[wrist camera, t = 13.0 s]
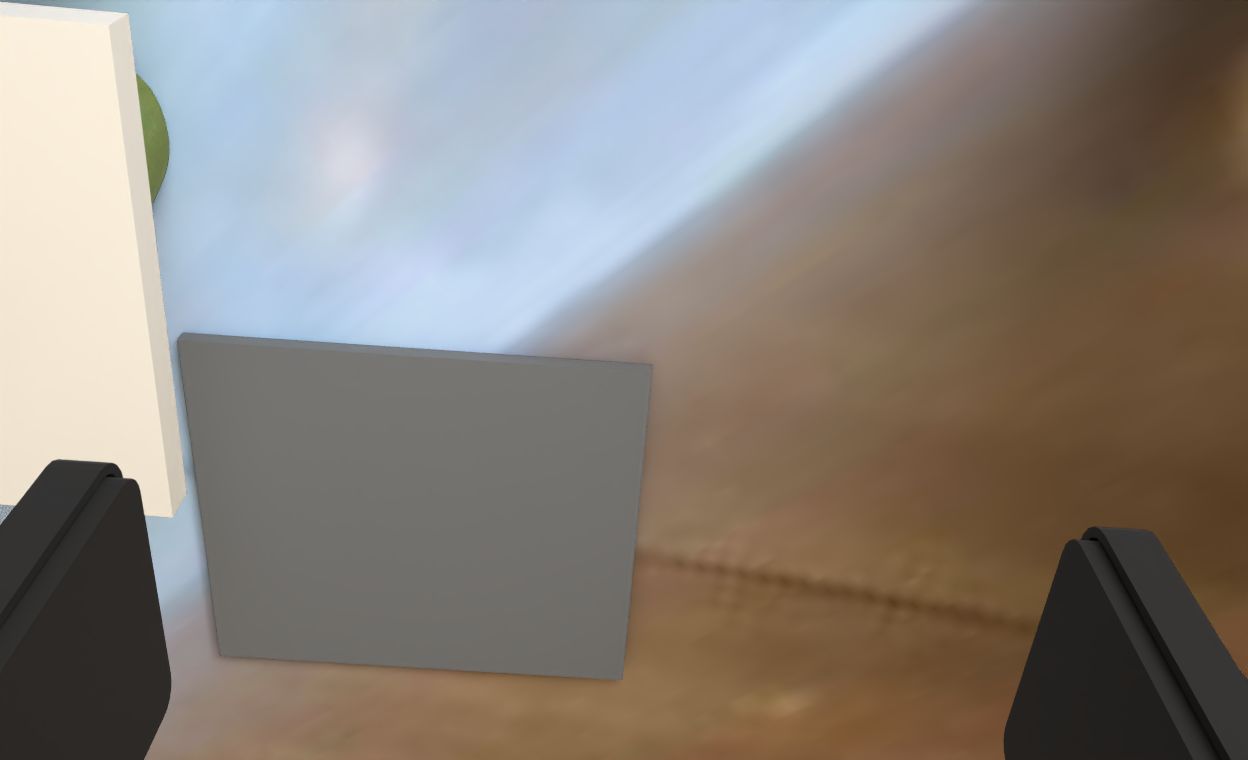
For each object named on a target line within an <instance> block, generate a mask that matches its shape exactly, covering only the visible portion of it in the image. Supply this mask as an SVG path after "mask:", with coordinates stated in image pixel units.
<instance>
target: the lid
mask: <svg viewBox="0 0 1248 760" xmlns="http://www.w3.org/2000/svg"><path fill="white" fill-rule="evenodd" d="M57 459H63V460H78V461H94V462H109V463H114V464H116V465H118V467H119V468H120V470H121V471H122V475H123V478H131V479H134V480H136V481H137V483H138V484H139V488H140V491H141V497H142V503H143V509H144V515H145V516H158V517H172V518H173V516H174V515H175V513H176V511H177V510H178V508H179V506H180V504H181V503H182V501H183V499H184V497H185V496H186V494H187V491H186V483H185V474H184V466H183V458H182V450H181V442H180V433H179V425H178V417H177V409H176V400H175V392H174V384H173V376H172V368H171V359H170V351H169V343H168V335H167V326H166V318H165V310H164V302H163V294H162V285H161V277H160V269H159V261H158V252H157V244H156V236H155V228H154V220H153V211H152V203H151V195H150V187H149V178H148V170H147V162H146V154H145V146H144V137H143V129H142V121H141V113H140V104H139V96H138V88H137V80H136V72H135V63H134V55H133V47H132V39H131V30H130V22H129V14H128V13H118V12H107V11H96V10H85V9H74V8H63V7H52V6H41V5H30V4H19V3H8V2H0V504H1V505H14V506H16V505H17V503H18V502H19V501H20V499H21V498H22V497H23V496H24V494H25V493H26V492H27V490H28V489H29V488H30V487H31V485H32V484H33V483H34V481H35V480H36V479H37V478H38V476H39V475H40V474H41V472H42V471H43V470H44V469H45V467H46V466H47V465H48V464H49V463H50V462H51V461H54V460H57Z"/></svg>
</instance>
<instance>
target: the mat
mask: <svg viewBox="0 0 1248 760" xmlns="http://www.w3.org/2000/svg"><path fill="white" fill-rule="evenodd" d="M177 341H178V349H179V356H180V363H181V371H182V378H183V386H184V393H185V400H186V408H187V415H188V423H189V430H190V437H191V445H192V452H193V460H194V467H195V474H196V482H197V489H198V497H199V504H200V511H201V519H202V526H203V534H204V541H205V548H206V556H207V563H208V570H209V578H210V585H211V593H212V600H213V607H214V615H215V622H216V630H217V637H218V644H219V652H220V656H231V657H247V658H264V659H280V660H297V661H313V662H330V663H346V664H363V665H379V666H396V667H412V668H428V669H445V670H461V671H478V672H494V673H511V674H527V675H544V676H560V677H577V678H593V679H609V680H622V679H623V669H624V658H625V648H626V638H627V627H628V617H629V606H630V596H631V586H632V575H633V565H634V554H635V544H636V534H637V523H638V513H639V502H640V492H641V482H642V471H643V461H644V450H645V440H646V430H647V419H648V409H649V399H650V388H651V378H652V365H650V364H636V363H621V362H606V361H592V360H577V359H562V358H547V357H533V356H518V355H503V354H489V353H474V352H459V351H444V350H430V349H415V348H400V347H385V346H371V345H356V344H341V343H327V342H312V341H297V340H282V339H268V338H253V337H238V336H223V335H209V334H194V333H182V334H181V336H180V337H179V339H178V340H177Z"/></svg>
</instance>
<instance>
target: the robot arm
mask: <svg viewBox="0 0 1248 760" xmlns="http://www.w3.org/2000/svg"><path fill="white" fill-rule="evenodd" d="M170 693H171V672H170V666H169V660H168V654H167V648H166V642H165V636H164V630H163V624H162V618H161V612H160V606H159V600H158V594H157V588H156V582H155V576H154V570H153V563H152V557H151V551H150V545H149V539H148V533H147V527H146V521H145V515H144V509H143V503H142V497H141V491H140V488H139V484H138V483H137V481H136V480H134V479H131V478H123V475H122V471H121V470H120V468H119V467H118V465H116V464H114V463H109V462H94V461H78V460H63V459H57V460H54V461H51V462H50V463H49V464H48V465H47V466H46V467H45V469H44V470H43V471H42V472H41V474H40V475H39V476H38V478H37V479H36V480H35V481H34V483H33V484H32V485H31V487H30V488H29V489H28V490H27V492H26V493H25V494H24V496H23V497H22V498H21V499H20V501H19V502H18V503H17V505H16V506H15V507H14V508H13V510H12V511H11V512H10V514H9V515H8V516H7V517H6V519H5V520H4V521H3V523H2V524H1V525H0V760H144V758H145V756H146V754H147V752H148V750H149V748H150V745H151V743H152V741H153V739H154V737H155V735H156V733H157V731H158V728H159V726H160V724H161V722H162V720H163V718H164V716H165V713H166V710H167V707H168V704H169V700H170ZM1004 753H1005V760H1248V680H1247V678H1246V677H1245V676H1244V675H1243V674H1242V672H1241V671H1240V670H1239V669H1238V667H1237V665H1236V664H1235V662H1234V660H1233V659H1232V657H1231V656H1230V654H1229V652H1228V651H1227V649H1226V648H1225V646H1224V644H1223V643H1222V641H1221V640H1220V638H1219V636H1218V635H1217V633H1216V632H1215V630H1214V628H1213V627H1212V625H1211V623H1210V622H1209V620H1208V619H1207V617H1206V615H1205V614H1204V612H1203V611H1202V609H1201V607H1200V606H1199V604H1198V603H1197V601H1196V599H1195V598H1194V596H1193V595H1192V593H1191V591H1190V590H1189V588H1188V587H1187V585H1186V583H1185V582H1184V580H1183V578H1182V577H1181V575H1180V574H1179V572H1178V570H1177V569H1176V567H1175V566H1174V564H1173V562H1172V561H1171V559H1170V558H1169V556H1168V554H1167V553H1166V551H1165V550H1164V548H1163V546H1162V545H1161V543H1160V542H1159V540H1158V538H1157V537H1156V536H1155V535H1154V534H1153V533H1152V532H1150V531H1148V530H1141V529H1126V528H1110V527H1095V526H1094V527H1091V528H1088V530H1087V531H1086V532H1085V533H1084V534H1083V536H1082V539H1081V540H1076V539H1073V540H1070V541H1069V542H1068V543H1067V544H1066V545H1065V548H1064V550H1063V552H1062V555H1061V558H1060V561H1059V565H1058V568H1057V571H1056V574H1055V577H1054V580H1053V583H1052V586H1051V589H1050V592H1049V595H1048V598H1047V601H1046V604H1045V607H1044V610H1043V613H1042V616H1041V620H1040V623H1039V626H1038V629H1037V632H1036V635H1035V638H1034V641H1033V644H1032V647H1031V650H1030V653H1029V656H1028V659H1027V662H1026V665H1025V668H1024V672H1023V675H1022V678H1021V681H1020V684H1019V687H1018V690H1017V693H1016V696H1015V699H1014V702H1013V705H1012V708H1011V711H1010V714H1009V717H1008V720H1007V723H1006V727H1005V732H1004Z"/></svg>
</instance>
